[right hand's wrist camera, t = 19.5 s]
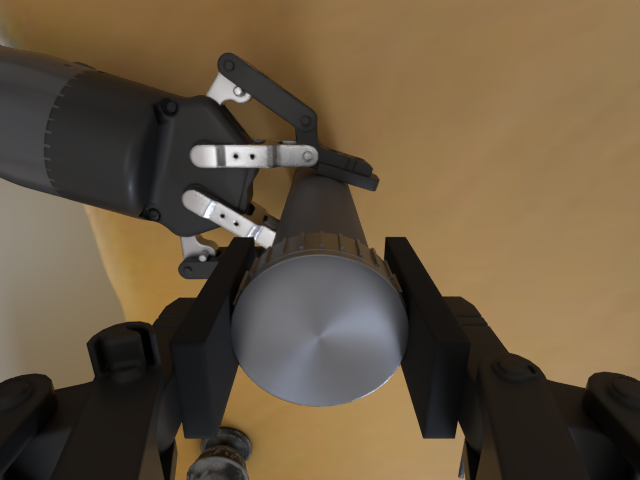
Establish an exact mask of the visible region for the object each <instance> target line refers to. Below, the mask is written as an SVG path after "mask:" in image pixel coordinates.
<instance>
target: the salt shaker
mask: <svg viewBox="0 0 640 480" xmlns="http://www.w3.org/2000/svg"><path fill="white" fill-rule="evenodd" d="M201 451H202V454H201V455H200V456H199V457H198V458H197V459H196V461H195V462H194V463H193V464H192V465H191V466H190V468H189V470H188V472H187V480H249V478H248V474H247V468H246V464H245V461H246V460H247V459H248V458H249V457H250V455H251V451H252V446H251V443H250V441H249V439H248V438H247V437H246V436H245V435H244V434H242V433H241V432H239V431H236V430H233V429H228V428H221V429H219V431H218V435H217V438H203V439H202V442H201Z"/></svg>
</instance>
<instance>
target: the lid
mask: <svg viewBox="0 0 640 480" xmlns="http://www.w3.org/2000/svg"><path fill="white" fill-rule="evenodd" d="M402 294H403V292H402V289H401V287H400V285H399V282H398V280H397V278H396V275H395V273H394V274H392V273H391V270H390V268H389V265H388V263H387V261H386V260H384V261H383V260H382V259H381V258H380V257H379V256H378V255H377V254H376V251H375V249H374V248H372V249H370V248H368V247H367V246H365V245H364V244H362V243H360V240H359V239H356V240H354V239H351V238H348V237H345V236H342V233H339V234H338V235H336V234H330V233H324V232H323V231H320V233H309V234H305V232H303V233H301V235H298V236H295V237H292V238H289V239H287V238H286V237H285V238H283V241H282V242H280V243H278V244H276V245H275V246H273V247H271V246H269V247H267V250H266V252H265V253H264V254H263V255H261V256H260V258H257V257H256V258H255V260H254V262H253V264H252V267H251V269H250V271H246V273H245V275H244V277H243V279H242V282H241V284H240V286H239V289H238V293H237V295H236V297H235V300H234V302H233V307H234V308H233V312H232V315H231V321H230V327H231V337H232V347H233V351H234V354H235V357H236V359H237V361H238V363H239V365H240V366H241V368H242V369H243V370H244V372H245V373H246V374H247V375H248V377H249V378H250V379H251V380H252V381H253V382H254V383H256V384H257V385H258V386H259V387H260V388H262V389H263V390H265V391H266V392H268V393H269V394H271V395H273V396H275V397H277V398H280V399H282V400H285V401H287V402H291V403H295V404H299V405H305V406H317V407H322V406H334V405H341V404H345V403H349V402H352V401H355V400H357V399H360V398H362V397H364V396H366V395H368V394H370V393H372V392H373V391H375V390H376V389H378V388H379V387H381V386H382V385H383V384H384V383H385V382H386V381H387V380H388V379H389V378H390V377H391V376H392V375H393V374H394V373H395V371H396V370H397V368H398V367H399V366H400V364H401V362H402V360H403V358H404V356H405V353H406V350H407V343H408V333H409V317H408V313H407V310H406V309H407V307H406V305H405V302H404V300H403V297H402Z"/></svg>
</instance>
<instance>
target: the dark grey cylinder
mask: <svg viewBox="0 0 640 480" xmlns="http://www.w3.org/2000/svg"><path fill="white" fill-rule="evenodd" d="M320 231H323V232H324V233H330V234H336V235H338V234H339V233H342V236H345V237H348V238H351V239H354V240H356V239H359V240H360V243H362V244H364V245H365V246H367V247H368V245H367V242H366V239H365V236H364V233H363V229H362V226H361V223H360V220H359V217H358V214H357V211H356V208H355V205H354V202H353V199H352V196H351V193H350V190H349V187H348V184H347V183H344V182H340V181H337V180H334V179H331V178H328V177H324V176H321V175H317V174H316V169H313V168H309V167H299V168H298V169H297V171H296V173H295V176H294V179H293V182H292V185H291V188H290V191H289V194H288V197H287V201H286V204H285V207H284V210H283V213H282V216H281V219H280V222H279V225H278V228H277V231H276V234H275V237H274V240H273V243H272V246H271V247H273V246H275V245H276V244H278V243H280V242H282V241H283V238H285V237H286V238H287V239H289V238H292V237H295V236H298V235H301V233H303V232H305V234H309V233H320Z"/></svg>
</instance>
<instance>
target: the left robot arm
mask: <svg viewBox="0 0 640 480" xmlns="http://www.w3.org/2000/svg"><path fill="white" fill-rule="evenodd" d="M218 70H219V72H218V74H217V76H216V78H215V80H214V81H213V83H212V85H211V87H210V89H209V91H208V92H207V94H206V95H205V96H204V95H198V96H194V97H189V98H186V97H181V96H178V95H175V94H171V93H168V92H165V91H162V90H159V89H155V88H152V87H149V86H146V85H143V84H140V83H136V82H133V81H130V80H127V79H124V78H120V77H117V76H114V75H111V74H108V73H104V72H101V71H97V70H96V69H95V68H93V67H90V66H88V65H86V64H83V63H79V62H69V61H66V60H63V59H59V58H56V57H53V56H49V55H45V54H40V53H35V52H29V51H23V50H17V49H13V48H9V47H5V46H1V45H0V178H3V179H5V180H7V181H10V182H12V183H15V184H17V185H20V186H23V187H26V188H30V189H34V190H37V191H41V192H44V193H48V194H52V195H55V196H59V197H63V198H66V199H69V200H73V201H77V202H80V203H84V204H87V205H91V206H95V207H98V208H102V209H106V210H109V211H113V212H116V213H120V214H124V215H127V216H131V217H134V218H138V219H143V220H149V221H155V222H158V223H160V224H162V225H164V226H165V227H167V228H168V229H169V230H170V231H171V232H173V233H174V234H176V235H178V236H180V238H181V244H182V251H183V257H184V261H183V262H182V263H181V264H180V265H179V268H178V271H179V274H180V275H181V276H182V277H183V278H185V279H208V278H209V277H210V275H211V274H212V272H213V270H214V269H215V267H216V265H217V264H218V262H219V261H220V259H221V257H222V256H223V254H224V253H225V251H226V249H227V248H228V247H218V245H217V243H215V242H214V241H212V240H207V239H204V238H203V237H202V236H201V235H200V234H201V233H204V232H207V231H210V230H213V229H216V228H219V227H223V228H225V229H227V230H229V231H230V232H232V233H234V234H235V235H237V236H239V237H254V242H256V243H258V244H259V245H261V246H258V247H255V258H256V257H257V258H260V256H261V255H263V254H264V253H265V252H266V250H267V247H269V246H272V243H273V240H274V237H275V234H276V231H277V228H278V225H279V222H280V220H278V219H276V218H275V217H273V216H271V215H270V214H268V213H267V211H266V210H265V209H264V208H263V207H261V206H259V205H258V204H256V203H254V202H253V201H252V197H253V180H254V179H255V177H256V175H257V173H258V171H259V168H274V167H309V168H313V169H316V174H317V175H321V176H324V177H328V178H331V179H334V180H337V181H340V182H344V183H347V184H350V185H354V186H357V187H360V188H364V189H367V190H370V191H376V189H377V186H378V183H379V178H378V177H377V176H376V175H375V174H373V173H372V170H373V168H372V167H371V165H370V164H368V163H367V162H366V161H365V160H364V159H361V158H358V157H354V156H351V155H348V154H345V153H342V152H339V151H335V150H332V149H329V148H326V147H324V146H323V145H322V144H321V143H320V142H319V140H318V134H317V115H316V113H315V112H314V111H313V110H312V109H311V108H309V107H308V106H307V105H305V104H304V103H303V102H301V101H300V100H298V99H297V98H296V97H294V96H293V95H292V94H290V93H289V92H288V91H286V90H285V89H283V88H282V87H281V86H279V85H278V84H277V83H275V82H274V81H272V80H271V79H270V78H268V77H267V76H266V75H264V74H263V73H262V72H260V71H259V70H257V69H256V68H255V67H253V66H252V65H251V64H249V63H248V62H246V61H245V60H244V59H242V58H240V57H238V56H236V55H234V54H232V53H225V54H223V55H221V56H220V58H219V60H218ZM252 98H255V99H256V100H258V101H259V102H260V103H262V104H263V105H265V106H266V107H267V108H269V109H270V110H272V111H273V112H274V113H276V114H277V115H279V116H280V117H281V118H283V119H284V120H286V121H287V122H288V123H290V124H291V125H293V126H294V127H295V131H296V140H278V139H251V138H250V137H249V135H248V134H247V133H246V132H245V130H244V129H243V128H242V126H241V125H240V124H239V123H238V121H237V120H236V119H235V118H234V116H233V115H232V114H231V113H230V111H229V110H228V109H227V108H226V106H225V103H226V102H227V101H229V100H234V101H236V102H238V103H247V102H249V101H251V100H252ZM236 222H238V223H236Z"/></svg>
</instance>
